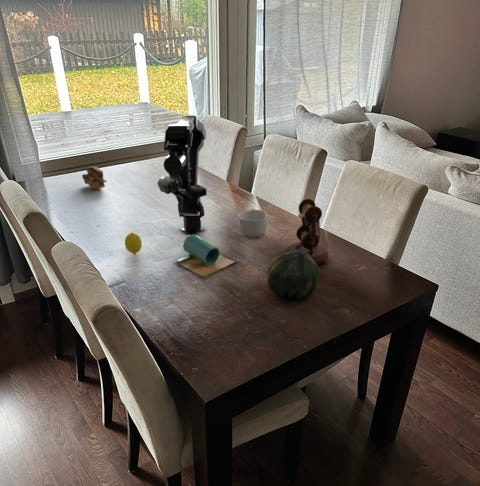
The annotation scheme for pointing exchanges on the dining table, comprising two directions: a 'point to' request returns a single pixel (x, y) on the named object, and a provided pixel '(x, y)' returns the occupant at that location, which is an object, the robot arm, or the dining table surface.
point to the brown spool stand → (309, 233)
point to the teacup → (253, 222)
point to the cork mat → (203, 265)
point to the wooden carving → (94, 178)
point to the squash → (293, 274)
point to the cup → (201, 249)
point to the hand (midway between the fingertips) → (183, 210)
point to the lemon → (133, 243)
